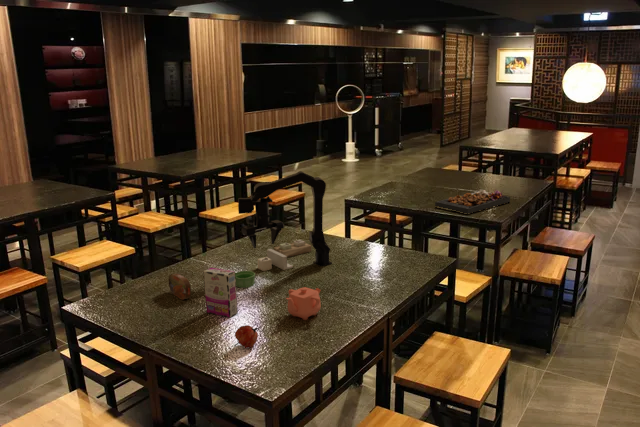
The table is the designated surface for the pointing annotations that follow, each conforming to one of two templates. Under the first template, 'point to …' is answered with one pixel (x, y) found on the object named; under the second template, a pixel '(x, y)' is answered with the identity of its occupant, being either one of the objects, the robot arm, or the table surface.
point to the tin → (179, 286)
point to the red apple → (246, 336)
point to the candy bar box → (220, 292)
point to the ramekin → (245, 279)
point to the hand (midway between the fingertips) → (263, 246)
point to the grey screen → (278, 259)
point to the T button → (299, 243)
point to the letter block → (264, 264)
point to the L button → (285, 246)
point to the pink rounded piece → (304, 302)
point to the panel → (294, 250)
